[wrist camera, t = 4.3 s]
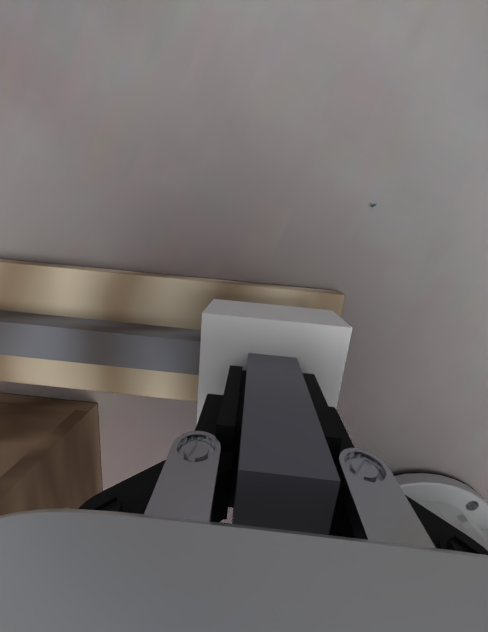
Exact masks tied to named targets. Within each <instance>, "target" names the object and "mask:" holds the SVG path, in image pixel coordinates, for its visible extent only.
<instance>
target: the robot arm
mask: <svg viewBox="0 0 488 632" xmlns="http://www.w3.org/2000/svg"><path fill="white" fill-rule="evenodd" d="M242 368H243V367H242V366H232V365H230V368H229V372H228V377H227V381H226V386H225V390H224V394H223V395H217V394H207V396H206V399H205V402H204V405H203V408H202V411H201V414H200V417H199V420H198V423H197V426H196V429H195V431H191V432H187V433H185V434H183V435H181V436H179V437H178V438H177V439H176V440H175V441H174V443H173V444H172V447H171V449H170V452H169V454H168V456H167V459H166V460H164V461H162V462H160V463H158V464H156V465H154V466H152V467H150V468H148V469H146V470H144V471H142V472H140V473H138V474H136V475H134V476H132V477H130V478H128V479H126V480H124V481H122V482H120V483H118V484H116V485H114V486H112V487H110V488H108V489H106V490H104V491H102V492H100V493H98V494H96V495H95V496H93V497H92V498H90V499H88V500H87V501H86V502H84V503H83V504H82V505H81V506H80V507H79V508H78V509H71V508H68V507H67V508H62V509H39V510H30V511H21V512H14V513H9V514H5V515H1V516H0V632H488V503H487V502H486V501H485V500H484V499H483V498H482V497H481V496H480V495H479V494H478V493H477V492H476V491H474V490H473V489H472V488H470V487H469V486H468V485H465V484H463V483H461V482H459V481H457V480H455V479H452V478H448V477H445V476H441V475H435V474H426V473H413V474H402V475H397V476H394V475H393V474H392V472H391V470H390V468H389V467H388V466H387V465H386V463H385V462H384V461H383V460H381V459H380V458H379V457H378V456H376V455H374V454H373V453H371V452H368V451H366V450H363V449H359V448H354V446H353V444H352V442H351V440H350V438H349V435H348V433H347V431H346V429H345V427H344V425H343V423H342V421H341V419H340V417H339V415H338V413H337V411H336V409H335V407H330V406H328V404H327V402H326V400H325V397H324V395H323V393H322V391H321V388H320V386H319V384H318V382H317V379H316V377H315V375H314V374H310V373H302V374H303V377H304V380H305V382H306V385H307V388H308V391H309V394H310V396H311V399H312V402H313V405H314V408H315V411H316V413H317V416H318V419H319V422H320V425H321V427H322V430H323V433H324V436H325V439H326V441H327V444H328V447H329V450H330V453H331V456H332V458H333V461H334V464H335V467H336V470H337V472H338V475H339V478H340V486H339V490H338V495H337V499H336V504H335V508H334V513H333V517H332V522H331V526H330V531H329V535H323V534H315V533H306V532H298V531H289V530H281V529H272V528H263V527H255V526H246V525H237V524H228V523H219V522H220V521H221V520H223V519H227V511H228V507H232V508H234V500H235V490H236V480H237V470H238V460H239V450H240V440H241V430H242V419H243V407H244V395H245V383H246V372H247V370H242Z"/></svg>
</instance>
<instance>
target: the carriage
mask: <svg viewBox="0 0 488 632" xmlns="http://www.w3.org/2000/svg"><path fill="white" fill-rule="evenodd" d="M351 333H352V327H351V326H350V325H349V324H348V323H346V322H345V321H344V320H343V319H342V318H341V317H339V316H338V315H337V314H336V313H335V312H334V311H332V310H324V309H314V308H303V307H293V306H283V305H272V304H262V303H252V302H241V301H231V300H221V299H213V300H212V302H211V303H210V304H209V305H208V306H207V308H206V309H205V310H204V311H203V312H202V322H201V342H200V362H199V382H198V402H197V422H196V426H197V423H198V420H199V417H200V414H201V411H202V408H203V405H204V402H205V399H206V396H207V394H217V395H223V394H224V390H225V386H226V381H227V377H228V372H229V368H230V365H232V366H242V367H243V368H242V370H247V372H246V383H245V395H244V407H243V419H242V430H241V440H240V450H239V460H238V470H237V480H236V490H235V500H234V508H233V519H232V524H237V525H246V526H255V527H263V528H272V529H281V530H289V531H298V532H306V533H315V534H323V535H329V531H330V526H331V522H332V517H333V513H334V508H335V504H336V499H337V495H338V490H339V486H340V478H339V475H338V472H337V470H336V467H335V464H334V461H333V458H332V456H331V453H330V450H329V447H328V444H327V441H326V439H325V436H324V433H323V430H322V427H321V425H320V422H319V419H318V416H317V413H316V411H315V408H314V405H313V402H312V399H311V396H310V394H309V391H308V388H307V385H306V382H305V380H304V377H303V374H302V373H310V374H314V375H315V377H316V379H317V382H318V384H319V386H320V388H321V391H322V393H323V395H324V397H325V400H326V402H327V404H328V406H330V407H335V409H336V408H337V403H338V398H339V393H340V388H341V383H342V378H343V373H344V368H345V363H346V358H347V353H348V348H349V343H350V338H351Z"/></svg>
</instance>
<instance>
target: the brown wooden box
mask: <svg viewBox="0 0 488 632" xmlns="http://www.w3.org/2000/svg"><path fill="white" fill-rule="evenodd" d="M100 492H102V473H101V456H100V438H99V420H98V403H90V402H81V401H71V400H62V399H53V398H43V397H34V396H25V395H15V394H6V393H0V516H1V515H5V514H9V513H14V512H21V511H30V510H39V509H62V508H67V507H68V508H71V509H78V508H79V507H80V506H81V505H82V504H83V503H84V502H86V501H87V500H88V499H90V498H92V497H93V496H95V495H96V494H98V493H100Z"/></svg>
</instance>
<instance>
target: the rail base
mask: <svg viewBox="0 0 488 632" xmlns="http://www.w3.org/2000/svg"><path fill="white" fill-rule="evenodd" d="M344 298H345V295H344V294H342V293H341V292H339V291H334V290H323V289H313V288H302V287H292V286H281V285H271V284H260V283H250V282H239V281H229V280H218V279H208V278H197V277H187V276H176V275H166V274H155V273H144V272H134V271H123V270H113V269H102V268H92V267H81V266H71V265H60V264H50V263H39V262H29V261H18V260H8V259H0V381H7V382H16V383H25V384H35V385H44V386H54V387H63V388H73V389H82V390H91V391H101V392H110V393H120V394H129V395H139V396H148V397H158V398H167V399H176V400H186V401H195V402H198V382H199V362H200V342H201V322H202V312H203V311H204V310H205V309H206V308H207V306H208V305H209V304H210V303H211V302H212V300H213V299H221V300H231V301H241V302H252V303H262V304H272V305H283V306H293V307H303V308H314V309H324V310H332V311H334V312H335V313H336V314H337V315H338V316H339V317H341V314H342V309H343V304H344Z"/></svg>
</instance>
